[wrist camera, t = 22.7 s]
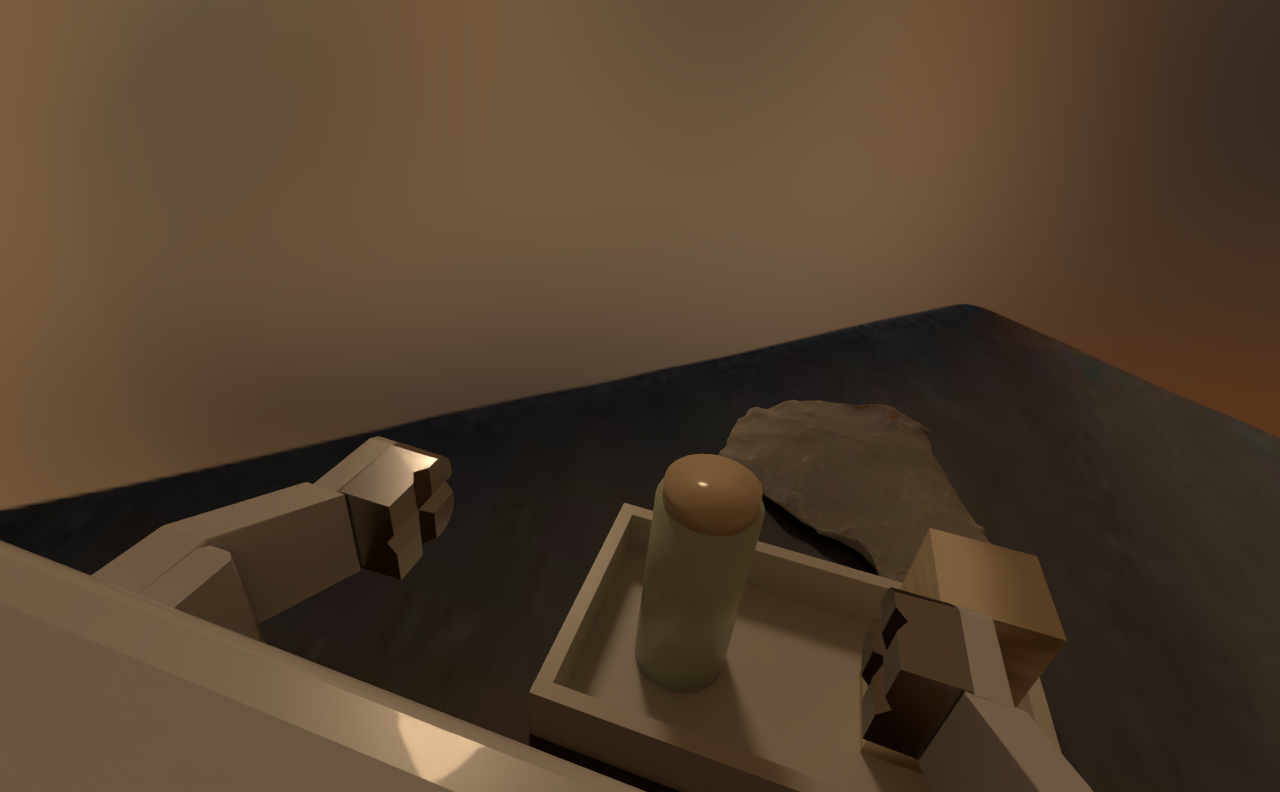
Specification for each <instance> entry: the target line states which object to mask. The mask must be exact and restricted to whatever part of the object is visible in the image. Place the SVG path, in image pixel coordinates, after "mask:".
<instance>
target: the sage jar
mask: <svg viewBox="0 0 1280 792" xmlns="http://www.w3.org/2000/svg"><path fill="white" fill-rule="evenodd" d="M762 495H763V492H762V487H761V484H760V482H759V480H758V479H757V477H756V476H755V475H754V474H753V473H752V472H751V471H750V470H749V469H748V468H746V467H745V466H743V465H742V464H740V463H738V462H736V461H734V460H732V459H729V458H726V457H723V456H718V455H712V454H695V455H689V456H686V457H683V458H680V459H678V460H677V461H675V462H674V463H673V464H671V465H670V467H669V468H668V469H667V471H666V474H665V477H664V478H663V479H662V481H661V482H660V483H659V485H658V487H657V490H656V495H655V502H654V509H653V517H652V524H651V531H650V538H649V545H648V552H647V559H646V566H645V573H644V580H643V588H642V595H641V602H640V609H639V616H638V623H637V630H636V637H635V645H634V652H635V657H636V661H637V663H638V665H639V667H640V669H641V671H642V672H643V673H644V675H645V676H646V677H647V678H648V679H649V680H650V681H651V682H653V683H654V684H655V685H657V686H659V687H661V688H663V689H665V690H667V691H671V692H675V693H694V692H698V691H701V690H703V689H705V688H707V687H709V686H710V685H711V684H713V683H714V682H715V681H716V680H717V678H718V677H719V675H720V673H721V671H722V668H723V665H724V661H725V658H726V654H727V651H728V647H729V643H730V640H731V636H732V632H733V629H734V625H735V621H736V618H737V614H738V610H739V607H740V603H741V600H742V596H743V592H744V589H745V585H746V581H747V578H748V574H749V570H750V567H751V563H752V559H753V556H754V552H755V549H756V545H757V541H758V538H759V534H760V530H761V527H762V523H763V519H764V515H765V508H764V504H763V501H762Z"/></svg>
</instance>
